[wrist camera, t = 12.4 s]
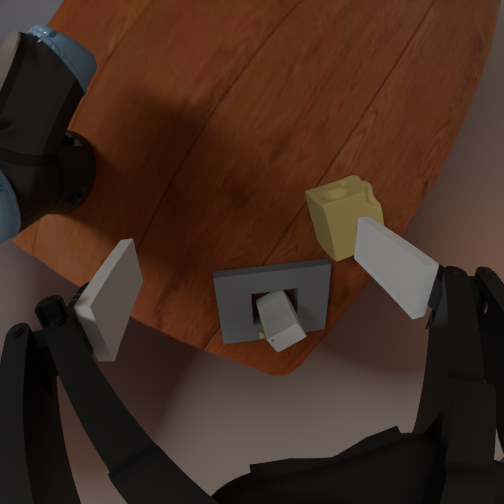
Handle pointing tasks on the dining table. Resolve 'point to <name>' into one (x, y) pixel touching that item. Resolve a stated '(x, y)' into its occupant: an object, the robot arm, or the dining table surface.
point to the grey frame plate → (267, 280)
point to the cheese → (341, 213)
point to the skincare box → (279, 320)
